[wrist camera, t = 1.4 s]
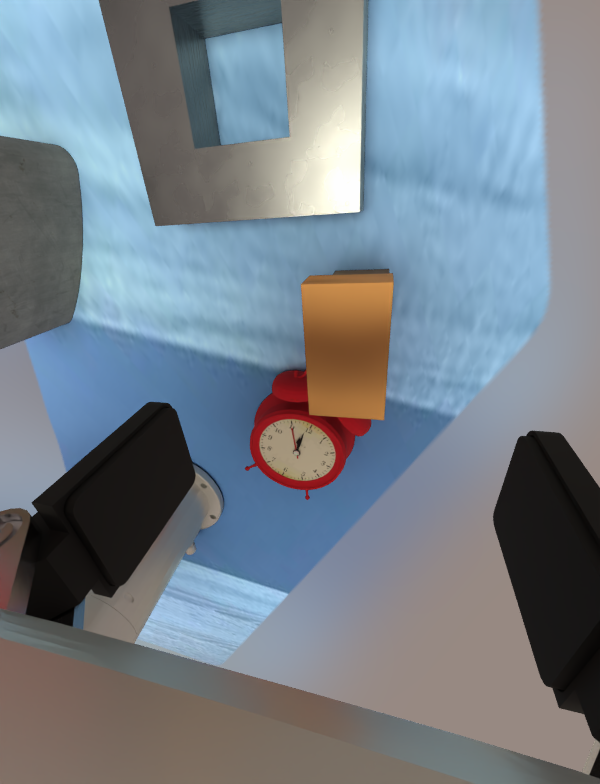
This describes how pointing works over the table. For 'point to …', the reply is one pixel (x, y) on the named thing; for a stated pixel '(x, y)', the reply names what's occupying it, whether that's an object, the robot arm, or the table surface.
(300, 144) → the collar
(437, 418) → the table surface
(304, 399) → the alarm clock
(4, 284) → the hip flask
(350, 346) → the wooden peg block
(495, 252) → the table surface
